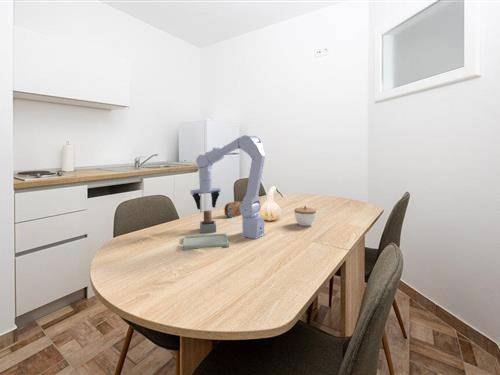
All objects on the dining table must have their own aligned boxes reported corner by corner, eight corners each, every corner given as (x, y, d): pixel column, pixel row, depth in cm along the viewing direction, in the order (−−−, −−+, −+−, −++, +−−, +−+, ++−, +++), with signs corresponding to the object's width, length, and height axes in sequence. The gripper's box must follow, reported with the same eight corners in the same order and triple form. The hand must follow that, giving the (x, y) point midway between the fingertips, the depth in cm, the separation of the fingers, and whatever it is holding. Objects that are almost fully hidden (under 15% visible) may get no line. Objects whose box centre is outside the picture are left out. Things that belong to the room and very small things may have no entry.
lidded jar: (314, 222, 151) (314, 204, 149) (316, 227, 140) (317, 208, 139) (293, 221, 152) (294, 204, 151) (294, 227, 141) (295, 208, 140)
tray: (226, 236, 126) (225, 233, 126) (229, 247, 114) (229, 243, 113) (184, 239, 123) (184, 235, 123) (182, 250, 110) (182, 246, 110)
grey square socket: (215, 228, 139) (215, 220, 138) (216, 233, 132) (215, 224, 131) (200, 229, 137) (199, 221, 137) (200, 234, 130) (200, 225, 130)
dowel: (213, 229, 135) (213, 211, 134) (208, 231, 132) (207, 212, 131) (207, 228, 137) (207, 210, 136) (202, 230, 134) (201, 211, 133)
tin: (227, 219, 158) (227, 204, 156) (223, 218, 159) (223, 203, 158) (244, 214, 169) (244, 200, 168) (240, 213, 171) (240, 199, 170)
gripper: (216, 178, 143) (216, 205, 145) (188, 180, 136) (189, 208, 138) (222, 179, 137) (222, 207, 139) (192, 181, 130) (194, 211, 132)
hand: (206, 208), depth 138 cm, fingers open, 7 cm apart
